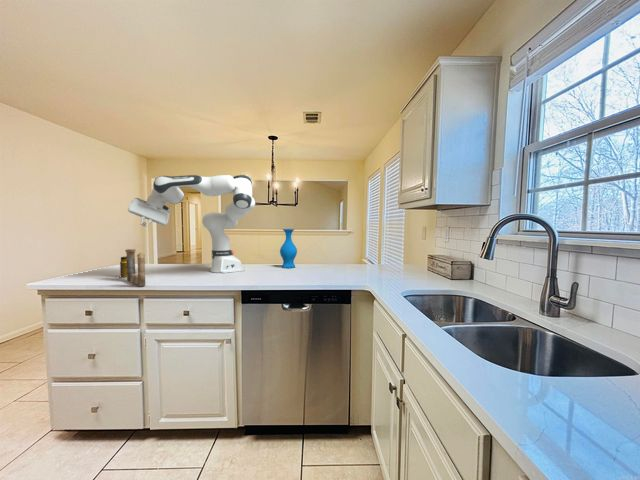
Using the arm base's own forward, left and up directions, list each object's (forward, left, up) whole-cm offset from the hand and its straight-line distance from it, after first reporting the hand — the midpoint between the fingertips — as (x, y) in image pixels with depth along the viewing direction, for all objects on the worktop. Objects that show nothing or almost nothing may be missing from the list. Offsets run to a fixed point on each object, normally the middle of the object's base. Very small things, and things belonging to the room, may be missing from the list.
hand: (143, 225), depth 156 cm
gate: (+4, +8, -30) cm, 32 cm away
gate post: (+7, -4, -31) cm, 32 cm away
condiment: (+11, -17, -31) cm, 37 cm away
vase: (-89, -4, -31) cm, 95 cm away
